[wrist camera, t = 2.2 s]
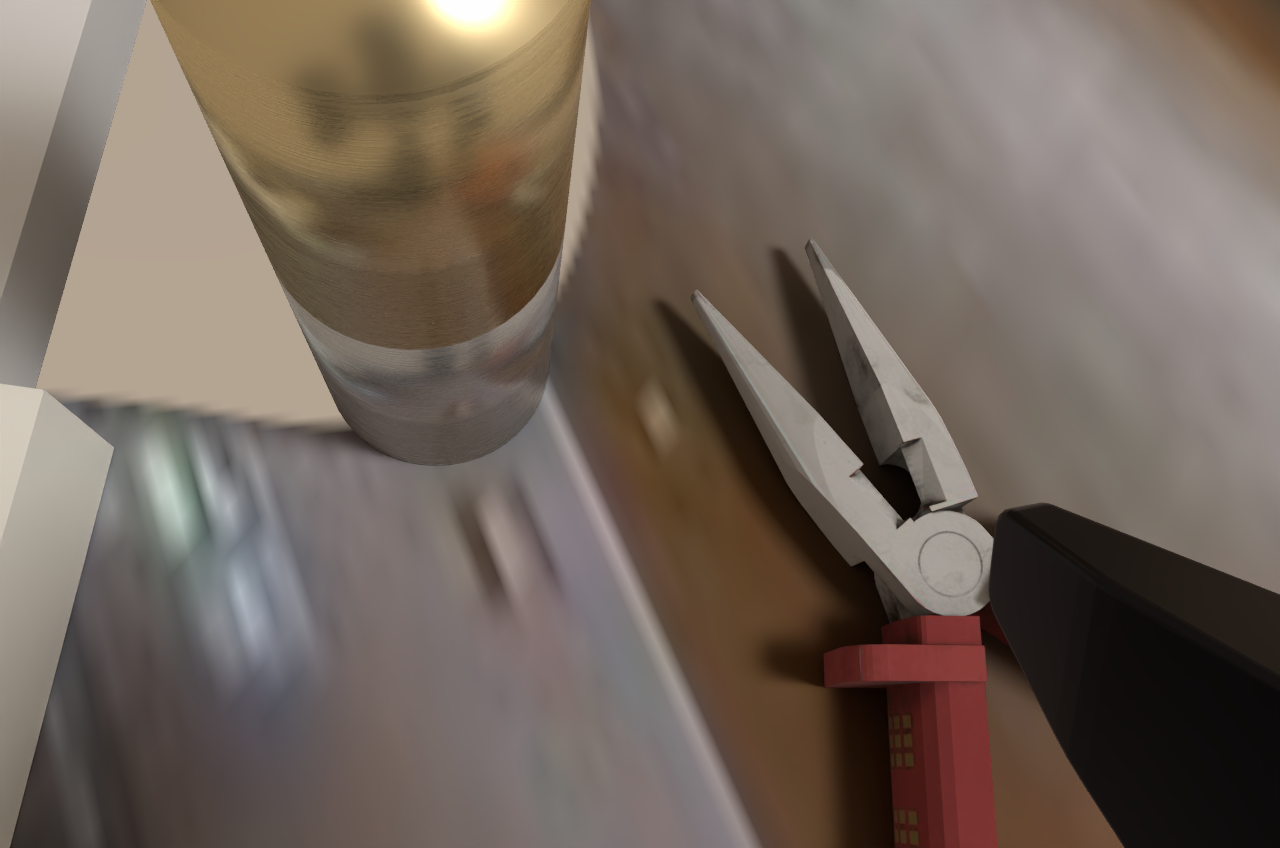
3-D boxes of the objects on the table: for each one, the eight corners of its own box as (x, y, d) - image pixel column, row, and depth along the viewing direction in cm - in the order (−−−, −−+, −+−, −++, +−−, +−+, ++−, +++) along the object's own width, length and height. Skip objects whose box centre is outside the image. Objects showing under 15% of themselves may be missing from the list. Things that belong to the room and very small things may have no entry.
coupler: (532, 480, 23) (568, 128, 10) (306, 448, 22) (59, 46, 10) (562, 275, 24) (625, -255, 12) (349, 242, 24) (179, -340, 11)
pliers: (954, 186, 26) (1001, 125, 24) (1514, 1036, 22) (1641, 1070, 20) (501, 406, 24) (500, 364, 21) (1045, 1413, 20) (1123, 1508, 17)
